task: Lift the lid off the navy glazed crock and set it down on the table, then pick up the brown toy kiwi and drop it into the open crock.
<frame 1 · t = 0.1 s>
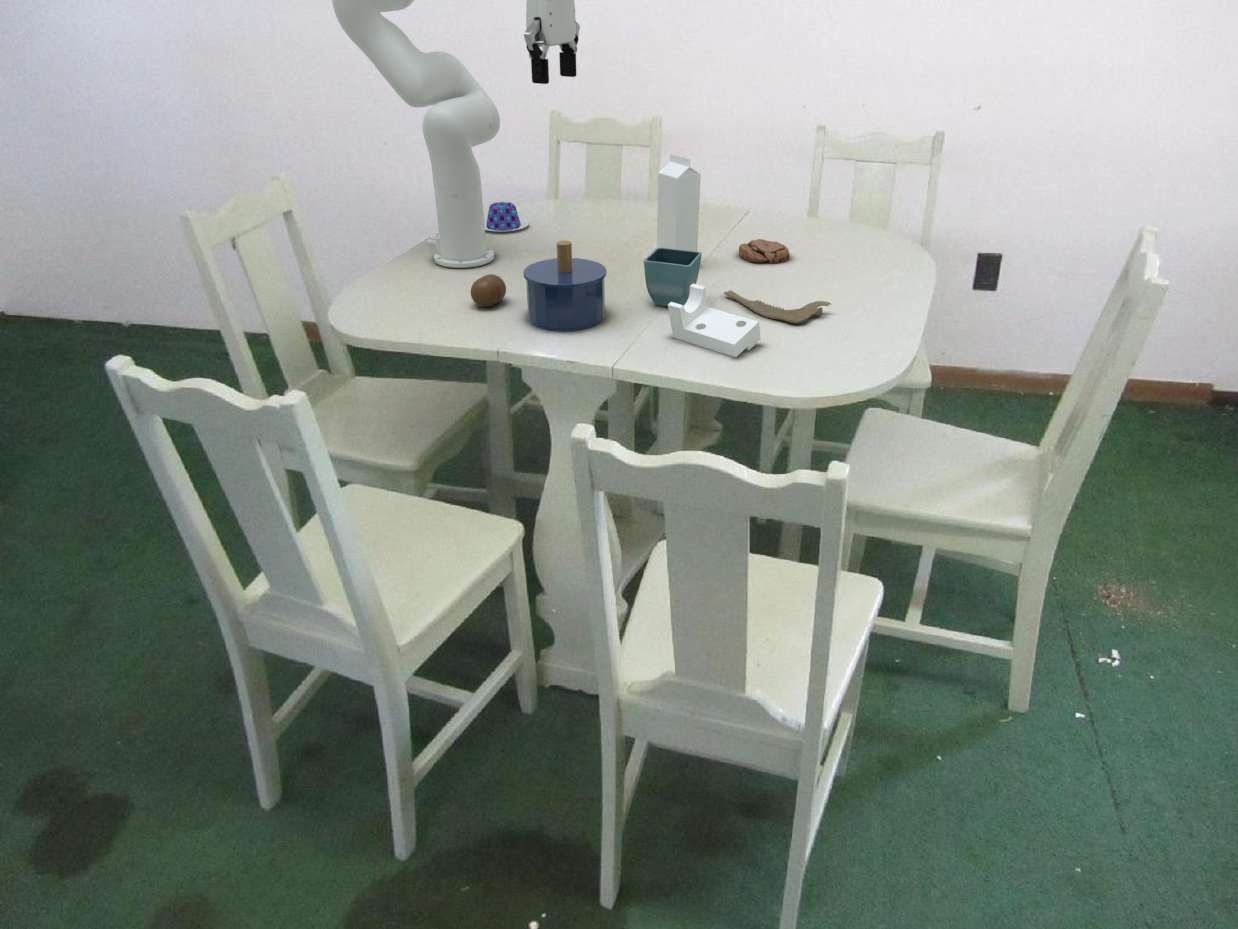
hand: (554, 79, 164), 37 cm above the table, tool pointing down, fingers open, 9 cm apart
cookie: (763, 257, 193), on the table
pudding: (503, 227, 213), on the table
bracket: (713, 343, 153), on the table
milk: (676, 267, 188), on the table
flower pot: (671, 303, 169), on the table
lid: (565, 274, 159), point 8 cm above the table, touching crock
jawbone: (776, 307, 168), on the table
crock: (566, 316, 163), on the table
kiwi: (489, 304, 169), on the table
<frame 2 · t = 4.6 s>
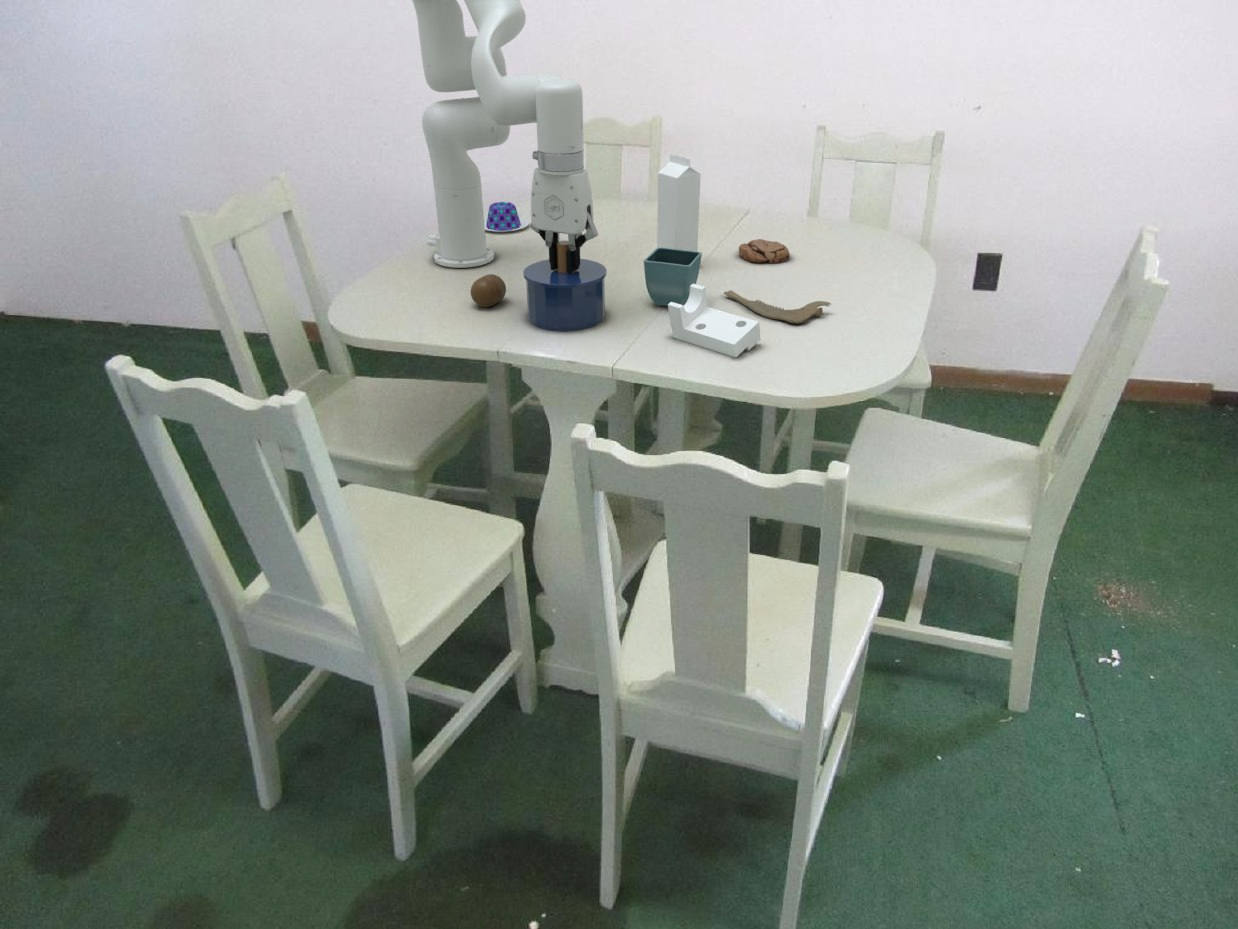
hand: (564, 268, 159), 9 cm above the table, tool pointing down, fingers closed on lid, 2 cm apart
lid: (565, 273, 159), point 8 cm above the table, touching crock, gripper
everything else where it was.
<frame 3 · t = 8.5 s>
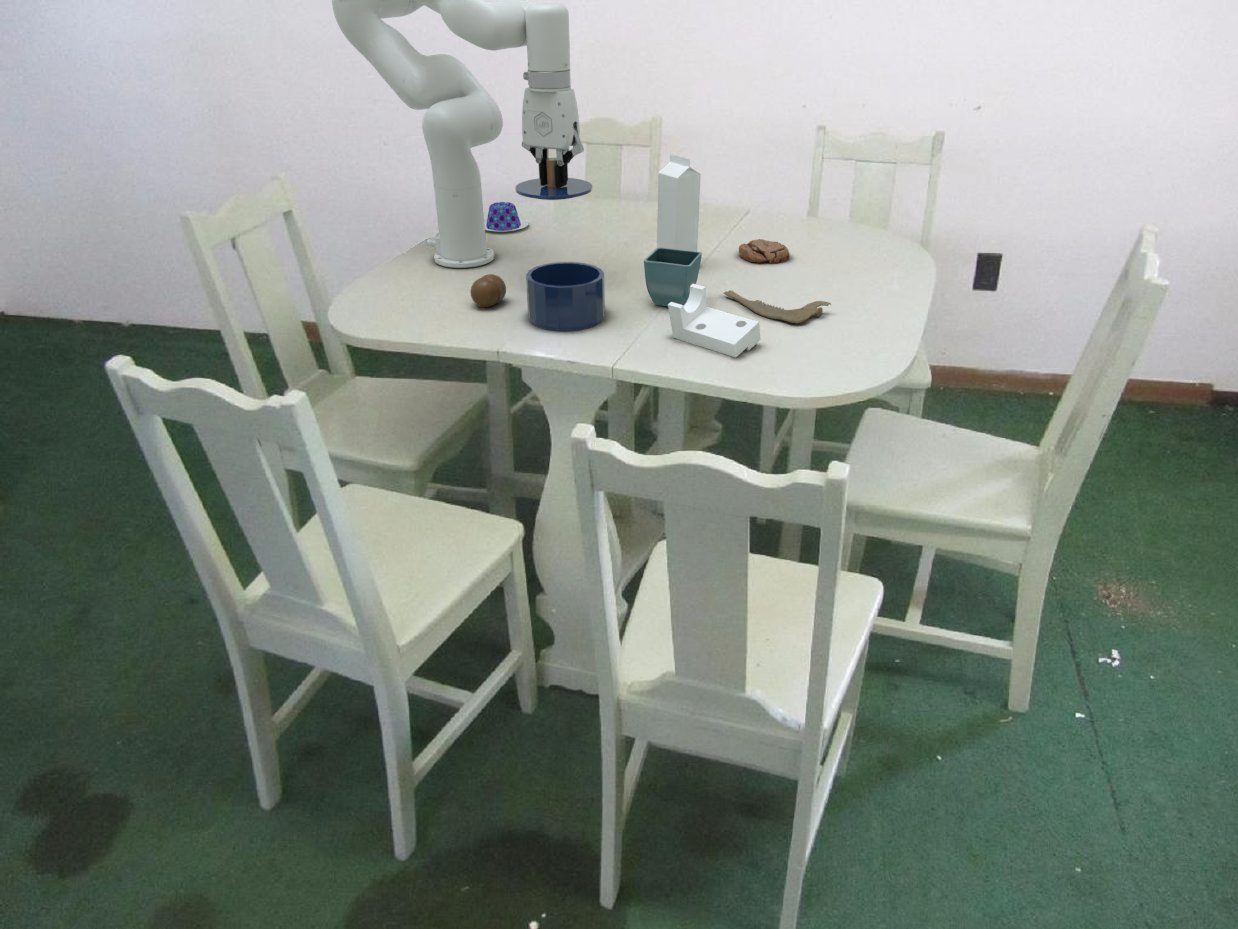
hand: (553, 184, 171), 19 cm above the table, tool pointing down, fingers closed on lid, 2 cm apart
lid: (554, 189, 172), point 18 cm above the table, touching gripper
everything else where it was.
when the fingers open (1 cm above the table, at t = 12.4 s): lid stays where it is, point 1 cm above the table.
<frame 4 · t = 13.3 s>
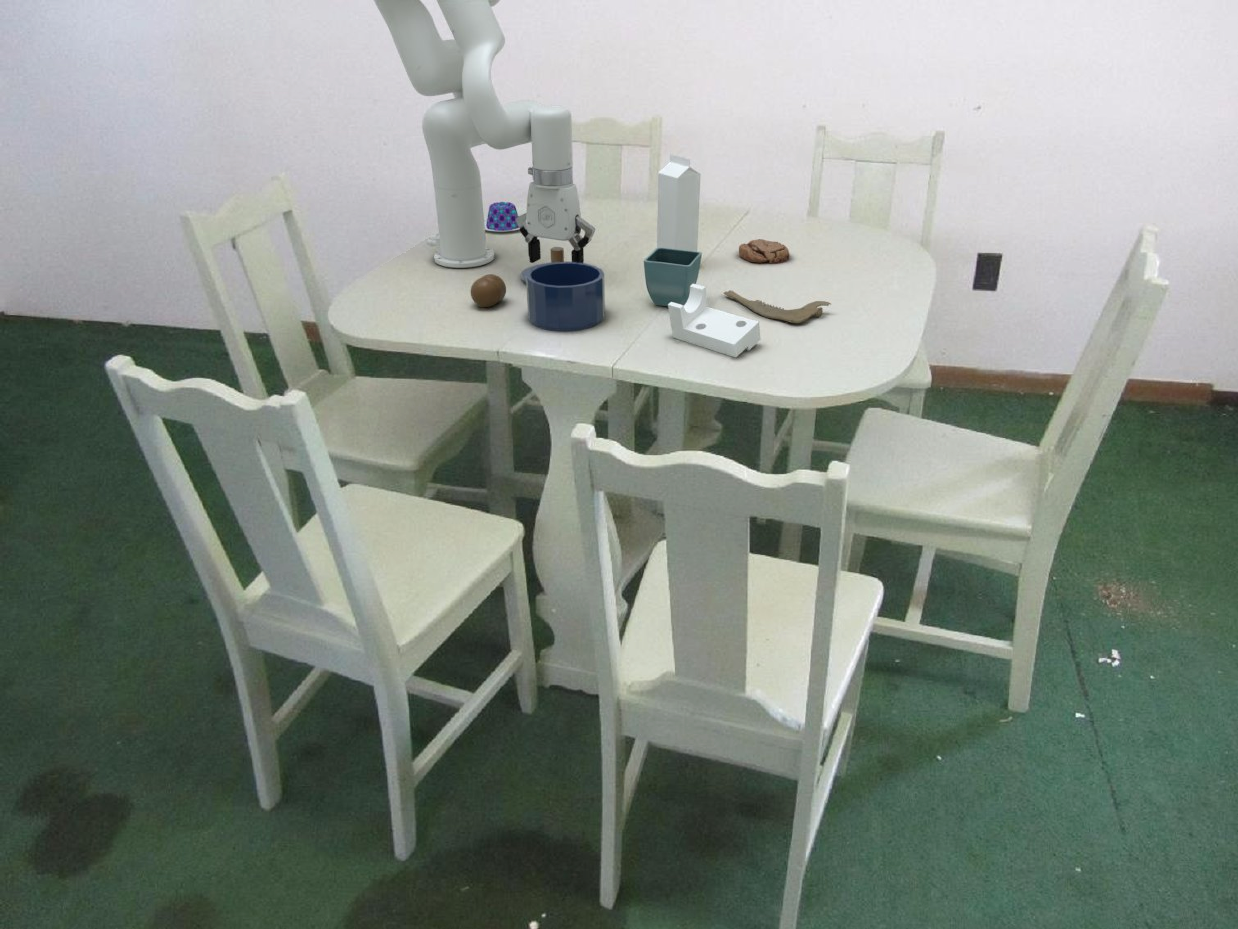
hand: (556, 264, 180), 3 cm above the table, tool pointing down, fingers open, 9 cm apart
lid: (558, 276, 181), point 1 cm above the table
everything else where it was.
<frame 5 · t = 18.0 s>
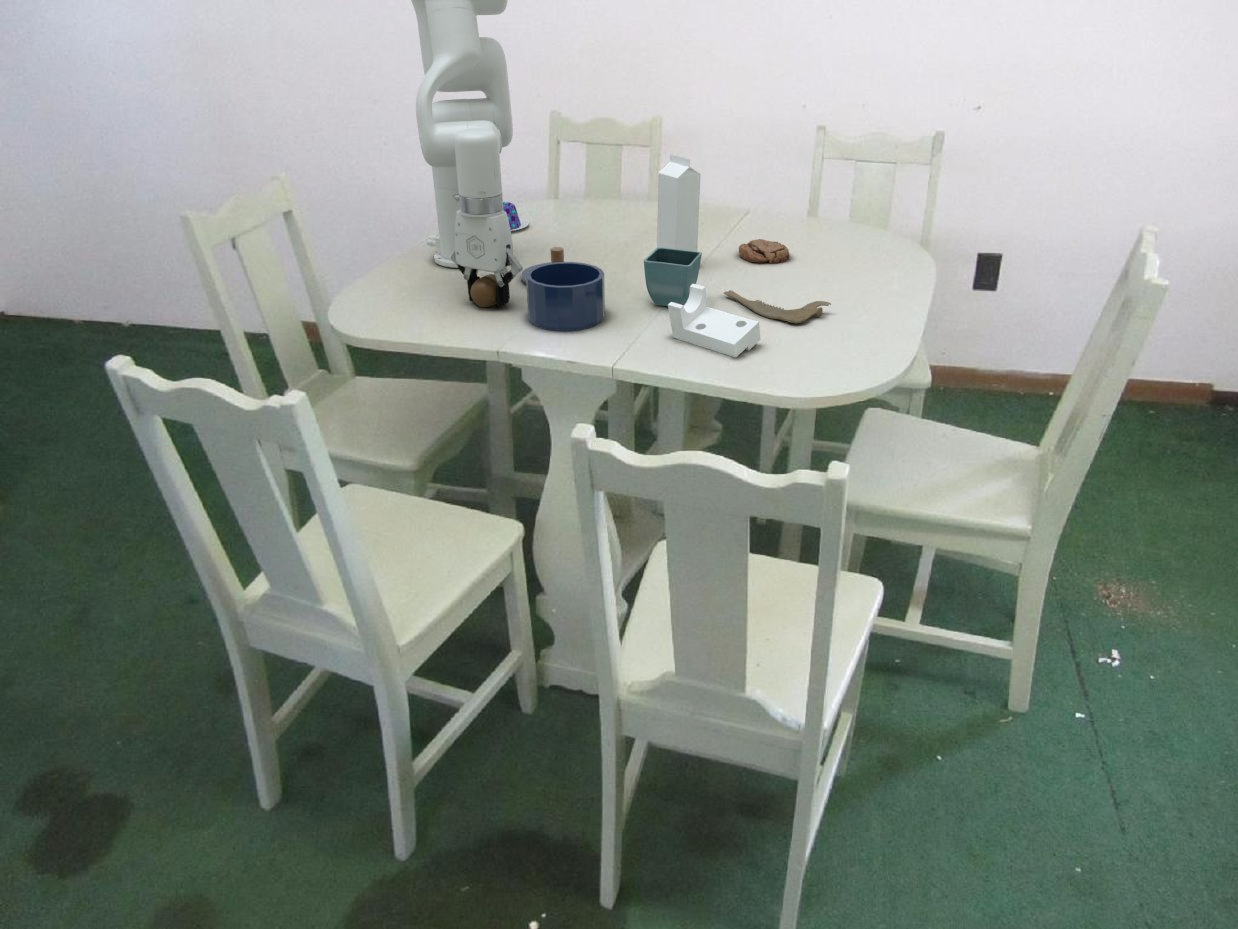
hand: (489, 300, 169), 1 cm above the table, tool pointing down, fingers closed on kiwi, 5 cm apart
kiwi: (489, 304, 169), on the table, touching gripper
everything else where it was.
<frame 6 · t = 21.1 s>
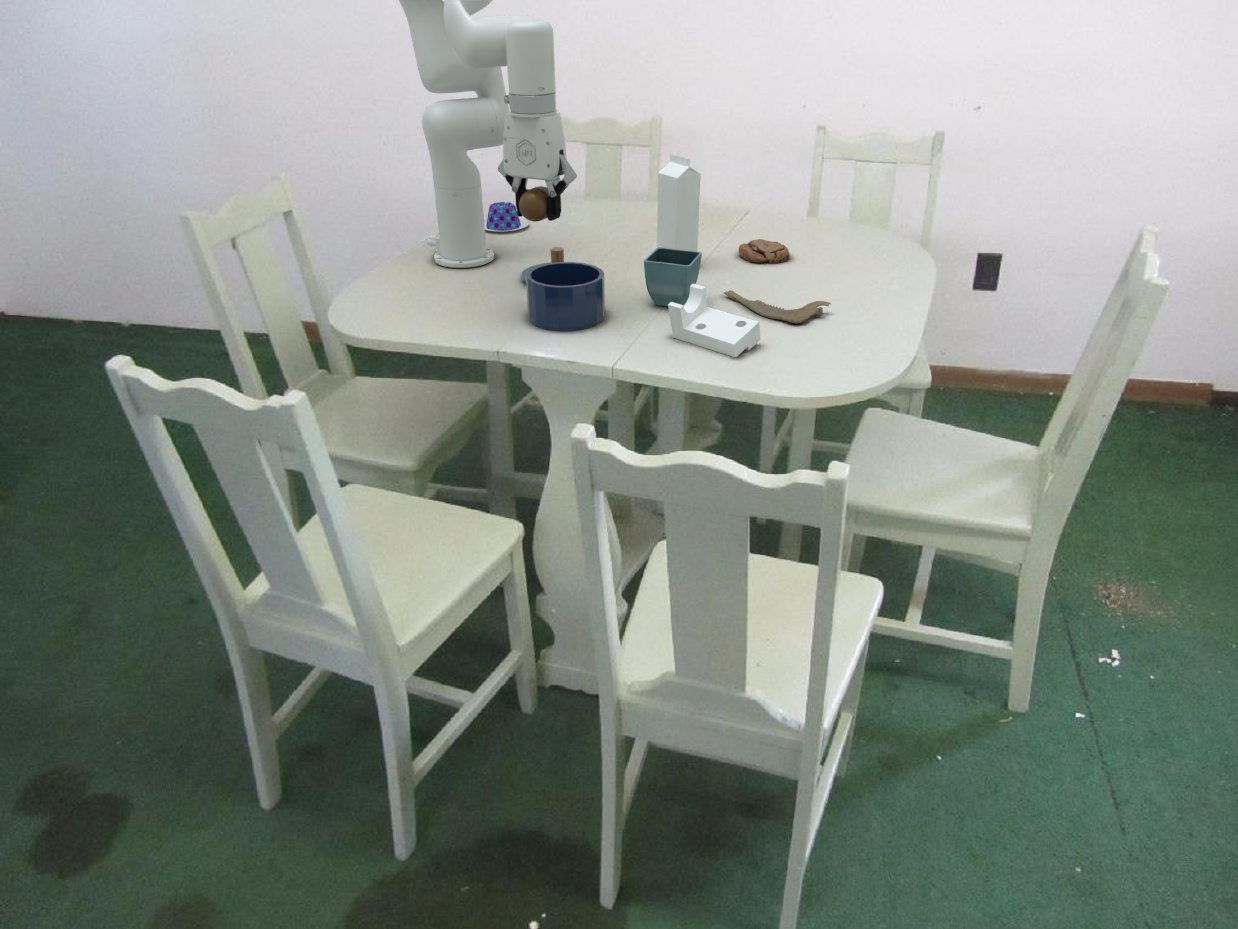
hand: (538, 215, 156), 18 cm above the table, tool pointing down, fingers closed on kiwi, 5 cm apart
kiwi: (538, 219, 156), point 17 cm above the table, touching gripper
everything else where it was.
when the fingers open (6 cm above the table, at t = 24.4 s): kiwi drops 5 cm, resting on crock.
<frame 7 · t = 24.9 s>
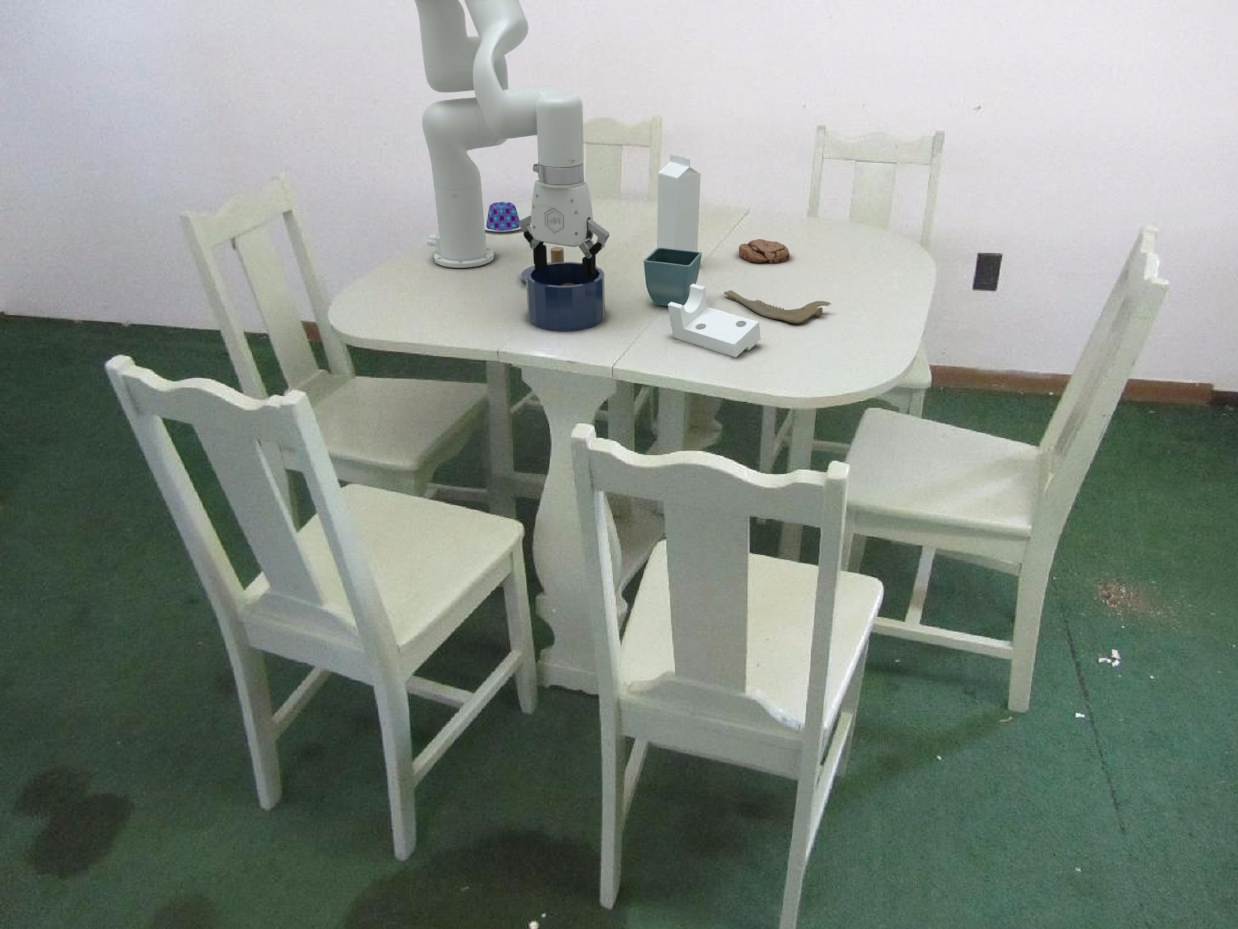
hand: (564, 273, 159), 8 cm above the table, tool pointing down, fingers open, 9 cm apart
kiwi: (566, 314, 163), resting on crock
everything else where it was.
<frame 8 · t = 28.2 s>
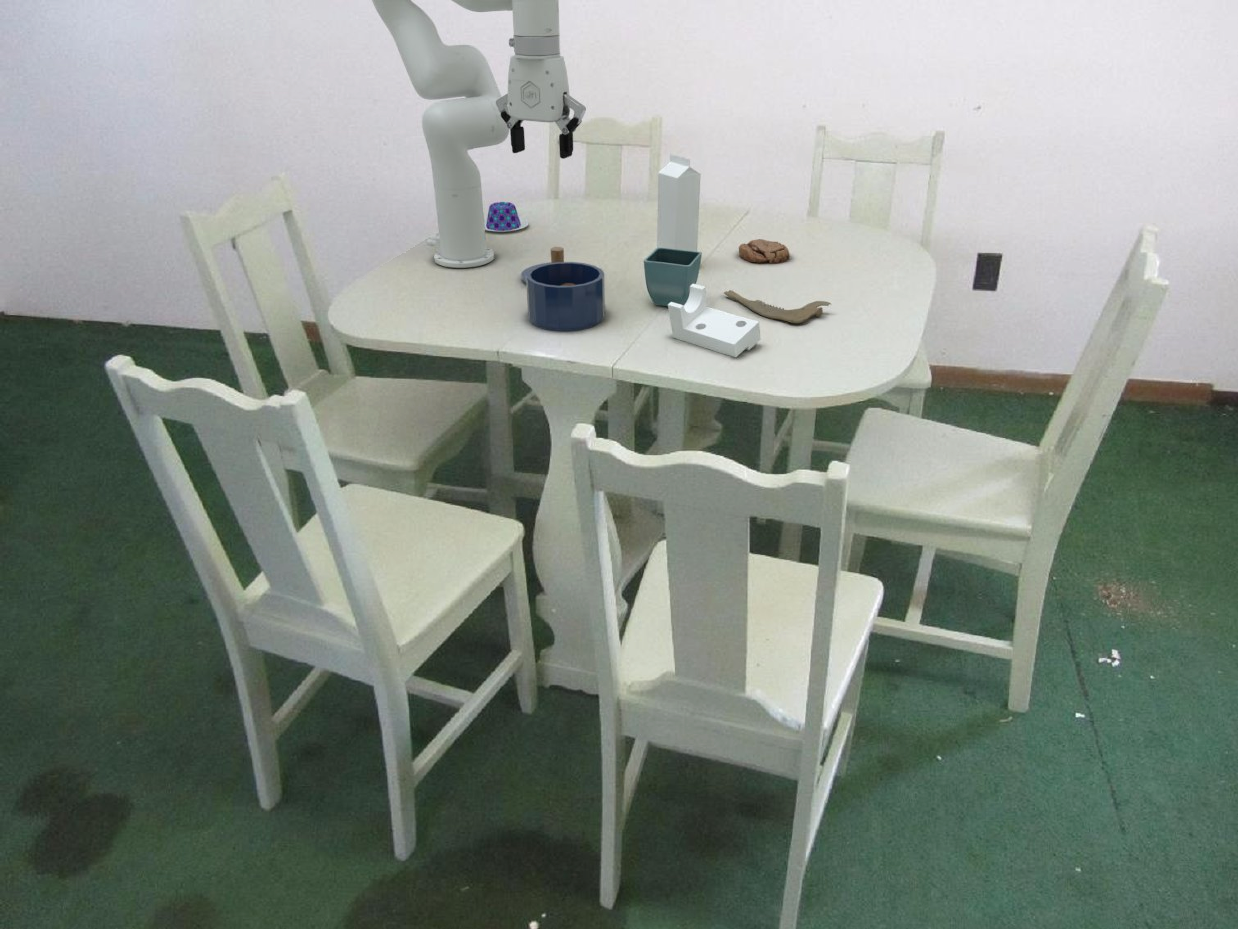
hand: (542, 154, 158), 26 cm above the table, tool pointing down, fingers open, 9 cm apart
nothing on the table moved.
at the end: lid inside the target area (0.2 cm from its centre), point 0.6 cm above the table; lid tilted 0°; kiwi inside the target area in the crock (0.0 cm from its centre), point 0.5 cm above the crock's base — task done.
